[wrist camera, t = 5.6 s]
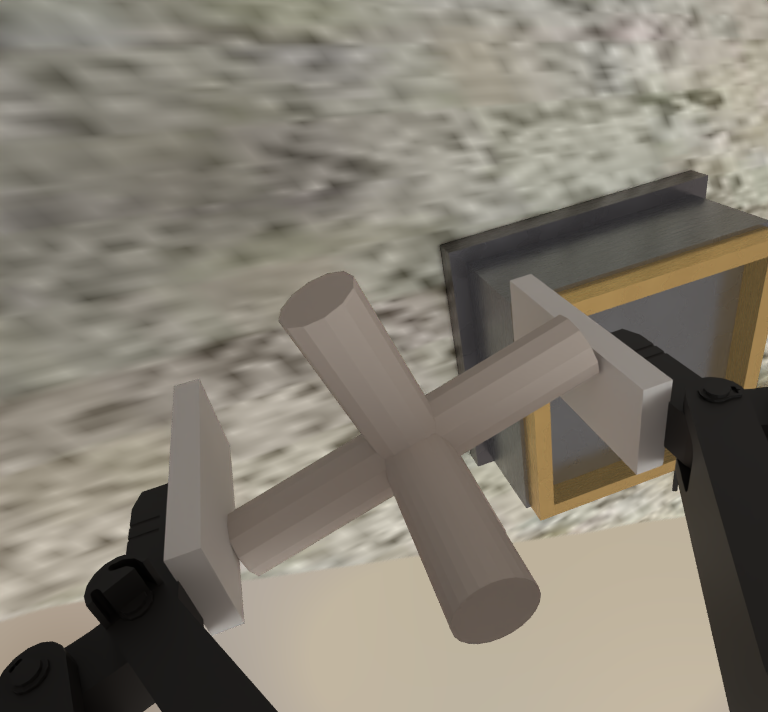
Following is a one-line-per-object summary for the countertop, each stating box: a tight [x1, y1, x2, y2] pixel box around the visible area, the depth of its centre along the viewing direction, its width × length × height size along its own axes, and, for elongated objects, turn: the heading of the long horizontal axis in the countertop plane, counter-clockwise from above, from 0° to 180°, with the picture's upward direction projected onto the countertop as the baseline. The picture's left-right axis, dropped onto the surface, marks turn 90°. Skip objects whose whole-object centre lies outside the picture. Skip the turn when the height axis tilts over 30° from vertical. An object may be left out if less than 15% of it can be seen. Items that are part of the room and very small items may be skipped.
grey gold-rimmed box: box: [440, 170, 768, 520], centre depth 38 cm, size 18×22×9 cm
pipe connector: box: [227, 271, 599, 644], centre depth 15 cm, size 10×10×10 cm
